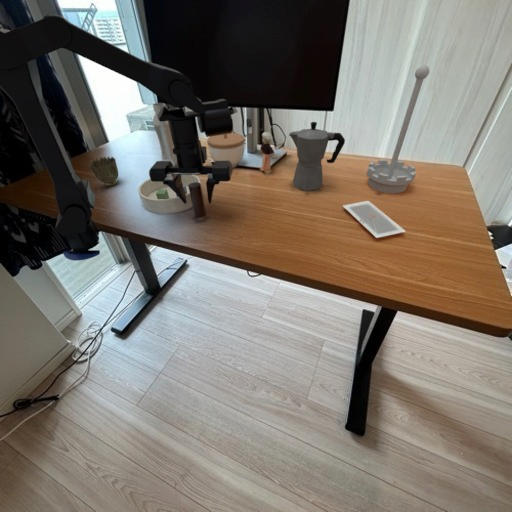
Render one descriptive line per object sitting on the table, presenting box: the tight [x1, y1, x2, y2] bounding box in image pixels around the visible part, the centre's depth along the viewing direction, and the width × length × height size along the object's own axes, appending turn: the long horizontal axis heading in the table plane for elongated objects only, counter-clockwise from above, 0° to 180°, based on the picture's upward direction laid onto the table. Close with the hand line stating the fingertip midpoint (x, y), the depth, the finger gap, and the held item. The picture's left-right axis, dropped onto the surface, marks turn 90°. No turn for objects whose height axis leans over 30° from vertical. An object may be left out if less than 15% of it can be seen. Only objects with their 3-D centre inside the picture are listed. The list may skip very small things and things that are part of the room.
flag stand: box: [366, 64, 430, 194], centre depth 72 cm, size 13×13×30 cm
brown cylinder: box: [188, 182, 207, 219], centre depth 69 cm, size 3×3×9 cm
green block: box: [156, 190, 169, 199], centre depth 77 cm, size 2×2×2 cm
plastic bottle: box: [152, 102, 178, 166], centre depth 91 cm, size 6×7×20 cm
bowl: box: [137, 175, 203, 215], centre depth 78 cm, size 17×17×4 cm
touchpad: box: [342, 200, 407, 239], centre depth 67 cm, size 8×15×2 cm, turn 16°
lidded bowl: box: [206, 132, 245, 169], centre depth 93 cm, size 13×13×11 cm
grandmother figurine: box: [259, 131, 276, 175], centre depth 87 cm, size 8×4×13 cm, turn 44°
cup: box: [88, 156, 119, 188], centre depth 84 cm, size 8×7×8 cm
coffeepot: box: [288, 121, 346, 192], centre depth 77 cm, size 15×9×18 cm, turn 72°
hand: (197, 202), depth 69 cm, fingers open, 6 cm apart
